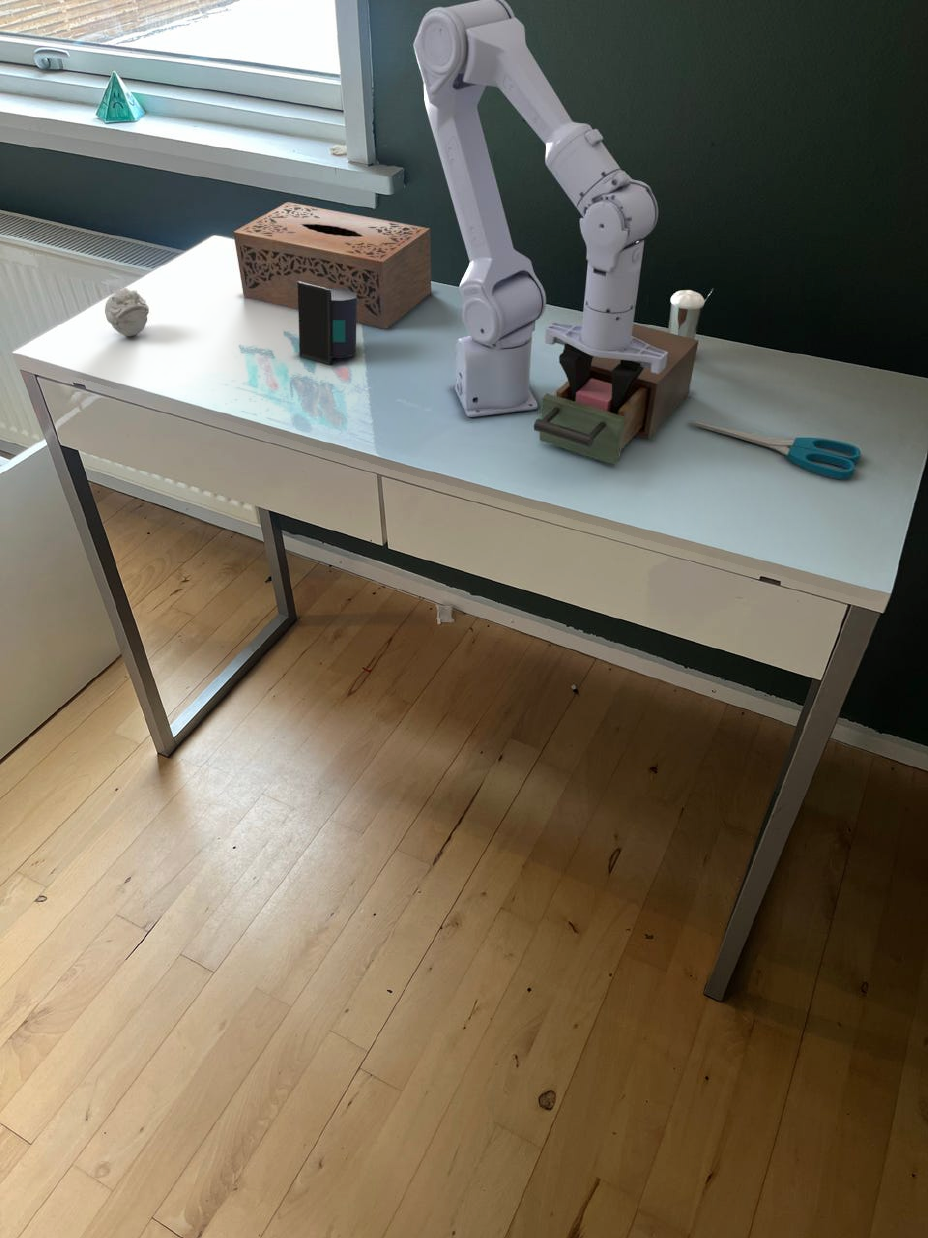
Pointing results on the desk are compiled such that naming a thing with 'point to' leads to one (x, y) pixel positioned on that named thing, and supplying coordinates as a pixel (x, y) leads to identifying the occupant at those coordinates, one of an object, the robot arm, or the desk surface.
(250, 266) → the tissue box cover
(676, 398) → the cabinet
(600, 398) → the block
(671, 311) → the milkshake
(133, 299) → the frog figurine
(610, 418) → the drawer
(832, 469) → the scissors
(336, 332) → the speaker
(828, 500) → the desk surface
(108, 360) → the desk surface
